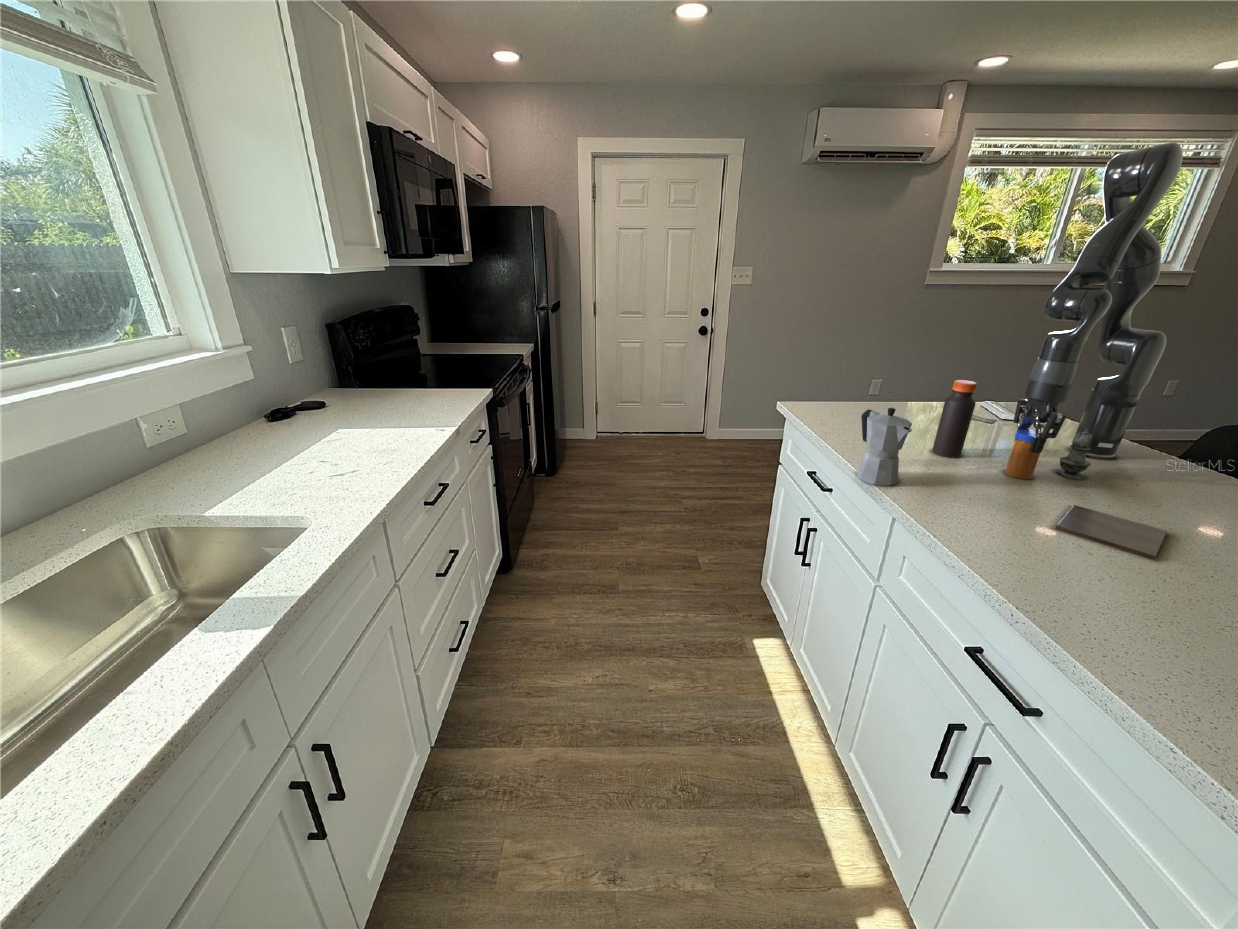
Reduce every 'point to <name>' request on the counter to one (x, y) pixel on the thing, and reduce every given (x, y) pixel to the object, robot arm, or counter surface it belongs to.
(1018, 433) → the lid
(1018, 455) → the jar
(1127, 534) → the board
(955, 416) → the bottle
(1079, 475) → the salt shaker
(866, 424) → the coffeepot
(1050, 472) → the counter surface
